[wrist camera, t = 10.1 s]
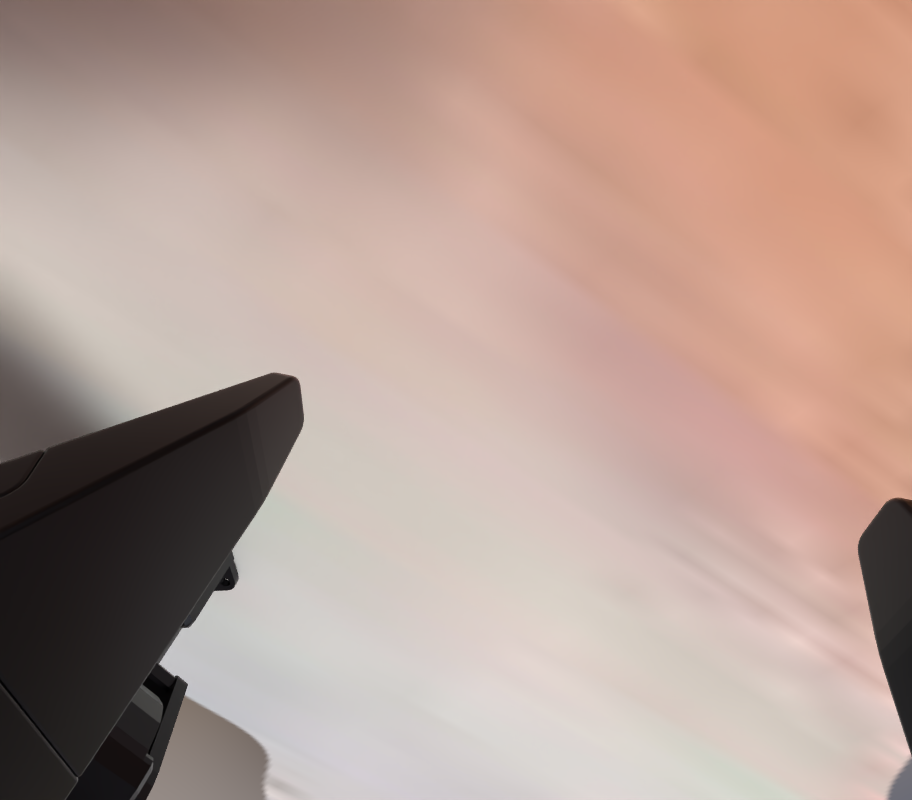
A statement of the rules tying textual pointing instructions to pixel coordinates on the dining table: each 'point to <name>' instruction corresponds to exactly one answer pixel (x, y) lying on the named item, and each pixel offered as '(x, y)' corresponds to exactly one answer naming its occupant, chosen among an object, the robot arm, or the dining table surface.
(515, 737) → the dining table surface
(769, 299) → the dining table surface
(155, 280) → the dining table surface
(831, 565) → the dining table surface
